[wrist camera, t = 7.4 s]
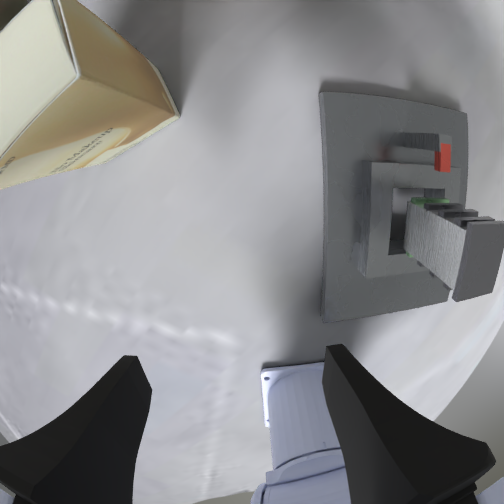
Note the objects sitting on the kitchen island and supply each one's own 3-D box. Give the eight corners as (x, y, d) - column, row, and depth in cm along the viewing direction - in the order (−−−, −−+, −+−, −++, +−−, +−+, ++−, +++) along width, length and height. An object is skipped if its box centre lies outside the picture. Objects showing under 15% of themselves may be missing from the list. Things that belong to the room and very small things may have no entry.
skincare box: (105, 165, 16) (-38, 214, 5) (82, 114, 15) (-62, 116, 4) (187, 115, 16) (82, 75, 4) (160, 62, 14) (50, -23, 3)
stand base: (441, 295, 21) (471, 326, 17) (320, 315, 21) (337, 358, 17) (459, 113, 15) (502, 114, 11) (318, 94, 15) (345, 78, 11)
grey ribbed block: (437, 250, 16) (492, 292, 10) (402, 254, 16) (456, 302, 10) (443, 195, 15) (508, 223, 9) (407, 194, 15) (473, 224, 9)
